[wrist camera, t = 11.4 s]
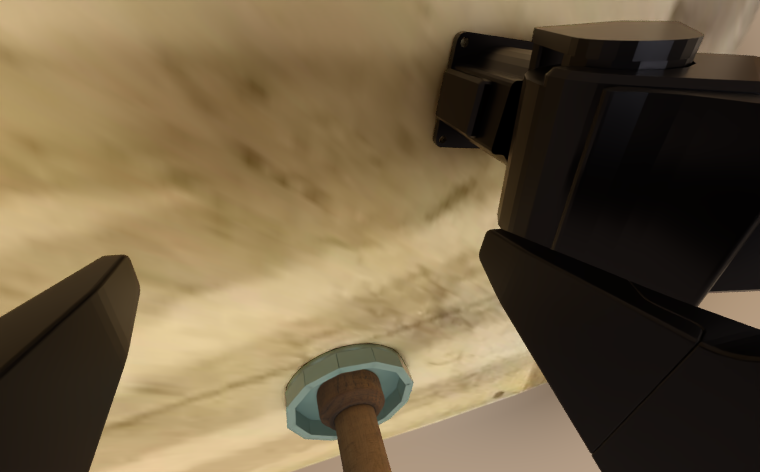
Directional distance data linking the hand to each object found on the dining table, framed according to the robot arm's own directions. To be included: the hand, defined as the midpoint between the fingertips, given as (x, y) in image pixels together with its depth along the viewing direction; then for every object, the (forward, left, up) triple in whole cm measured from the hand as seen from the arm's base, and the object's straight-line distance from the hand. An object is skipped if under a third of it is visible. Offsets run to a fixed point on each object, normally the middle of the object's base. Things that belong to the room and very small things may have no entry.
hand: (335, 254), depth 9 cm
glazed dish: (-5, +27, -13) cm, 30 cm away
